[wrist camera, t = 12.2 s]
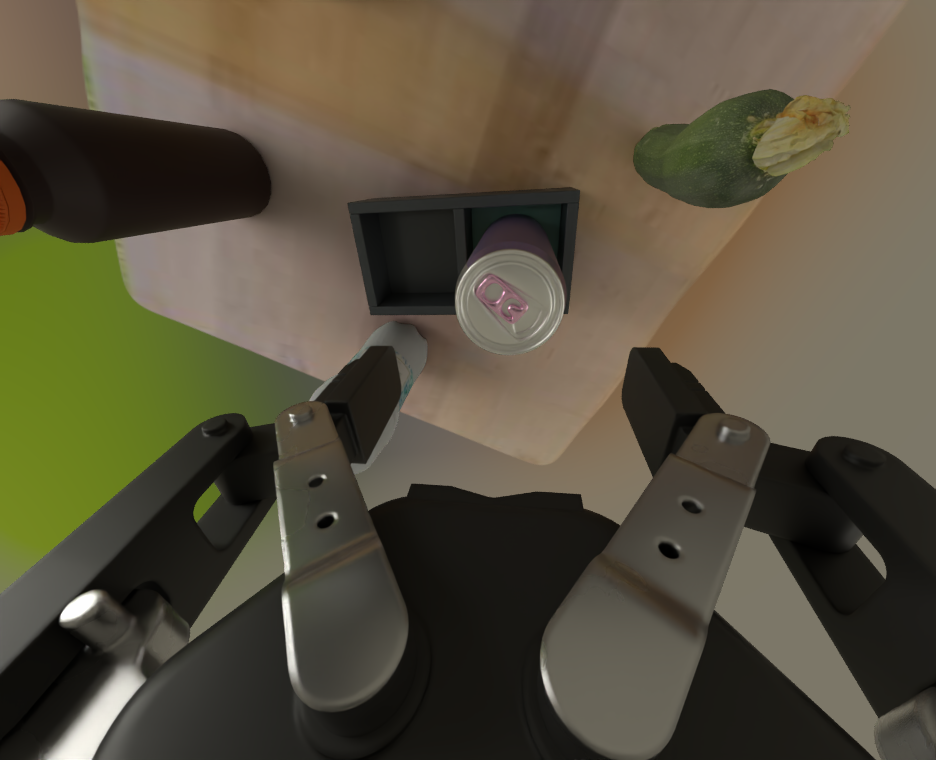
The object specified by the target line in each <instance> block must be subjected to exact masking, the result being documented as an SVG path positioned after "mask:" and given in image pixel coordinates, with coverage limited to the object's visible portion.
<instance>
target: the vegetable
mask: <svg viewBox="0 0 936 760" xmlns="http://www.w3.org/2000/svg"><path fill="white" fill-rule="evenodd" d="M849 109H850V106H849V105H848V106H846V107H845V105H844V103H842V102H839V101H835V100H834V99H832V98H827V99H819V98H816V97H812V96H807V95H804V96H799V97H796V98H795V100H794V99H793V98H791V97H790V96H788V95H787V94H785V93H783V92H780V91H777V90H772V89H769V90H762V91H757V92H753V93H748V94H745V95H741V96H738V97H735V98H732V99H729V100H726V101H724V102H722V103H719V104H718V105H716V106H715V107H713V108H711V109H710V110H708V111H707V112H706V113H704V114H703V115H701V116H700V117H699V118H697V119H696V120H695V121H693V122H692V123H691V124H666V125H662V126H660V127H655V128H652V129H651V130H650V131H649V132H648V133H647V134H646V135H645V136H644V137H643V138H642V139H641V141H640V142H639V143H638V144H637V145H636V146H635V149H634V156H633V162H634V166H635V169H636V171H637V173H639V174H640V176H641V177H642V178H643V179H644V180H645V182H647V183H648V184H649V185H651V186H653V187H655V188H657V189H660V190H661V191H664V192H666V193H668V194H669V195H670V196H672V197H673V198H676V199H678V200H682V201H684V202H686V203H688V204H691V205H694V206H700V207H706V208H726V207H732V206H735V205H739V204H742V203H745V202H749V201H752V200H754V199H757V198H759V197H761V196H763V195H765V194H766V193H767V192H769V191H770V190H771V189H772V188H774V187H775V186H776V185H777V184H778V183H779V182H780V181H781V180H782V179H783V178H784V177H785V176H786V175H787V174H788V173H790V172H792V171H794V170H797V169H799V168H801V167H803V166H805V165H807V164H808V163H809V162H810V161H812V160H815V159H816V158H817V157H818V156H819V155H820V154H821V153H822V152H824V151H830V150H831V148H832V146H833V140H834V139H835V138H836V137H837V136H838V137H842V136H844V135H846V134H848V133H849V130H848V127H849V125H848V123H849V122H848V119H849V117H850V115H848V114H845V113H846V112H847V111H848V110H849Z"/></svg>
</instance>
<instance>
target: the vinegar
mask: <svg viewBox="0 0 936 760" xmlns="http://www.w3.org/2000/svg"><path fill="white" fill-rule="evenodd" d="M270 195H271V181H270V177H269V173H268V169H267V167H266V165H265V163H264V161H263V159H262V157H261V155H260V154H259V153H258V152H257V151H256V149H255V148H254V147H253V146H252V145H251V143H249V142H248V141H247V140H245V139H244V138H243V137H241V136H240V135H238V134H236V133H233V132H231V131H228V130H225V129H219V128H212V127H205V126H198V125H191V124H184V123H177V122H170V121H163V120H156V119H149V118H142V117H135V116H128V115H121V114H115V113H108V112H101V111H94V110H86V109H80V108H73V107H66V106H58V105H52V104H45V103H38V102H31V101H24V100H17V99H6V100H0V236H3V235H11V234H14V233H16V232H24V231H26V230H28V229H30V228H31V227H32V226H33V227H36V228H37V229H39V230H41V231H43V232H45V233H47V234H49V235H51V236H54V237H57V238H60V239H63V240H66V241H69V242H74V243H95V242H100V241H107V240H113V239H119V238H125V237H131V236H137V235H143V234H149V233H156V232H162V231H168V230H174V229H180V228H186V227H192V226H198V225H204V224H210V223H216V222H222V221H228V220H234V219H241V218H247V217H252V216H254V215H256V214H259V213H261V212H262V211H263V209H264V208H265V207H266V206H267V205H268V202H269V199H270Z"/></svg>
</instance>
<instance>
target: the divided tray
mask: <svg viewBox="0 0 936 760" xmlns="http://www.w3.org/2000/svg"><path fill="white" fill-rule="evenodd" d="M579 198H580V190H578V189H575V188H571V187H569V188H551V189H533V190H516V191H498V192H480V193H463V194H445V195H427V196H409V197H392V198H374V199H367V200H361V201H355V202H350V203H348V209H349V213H350V218H351V223H352V228H353V232H354V237H355V242H356V247H357V252H358V256H359V261H360V266H361V271H362V276H363V280H364V285H365V290H366V295H367V300H368V304H369V306H370V307H369V309H370V314H371V315H456V309H455V289H456V284H457V280H458V277H459V275H460V273H461V271H462V269H463V268H464V266H465V264H466V263H467V261H468V259H469V258H470V256H471V254H472V253H473V251H474V249H475V248H476V246H477V244H478V243H479V241H480V240H481V238H482V236H483V235H484V233H485V231H486V230H487V228H488V227H489V226H490V225H491V224H492V223H493V222H494V221H496V220H497V219H499V218H501V217H503V216H506V215H510V214H522V215H526V216H529V217H531V218H533V219H534V220H536V221H537V222H538V223H539V224H540V225H541V226H542V227H543V229H544V230H545V232H546V234H547V237H548V239H549V242H550V244H551V247H552V249H553V252H554V254H555V257H556V259H557V262H558V264H559V267H560V269H561V272H562V274H563V277H564V280H565V284H566V291H567V298H566V305H565V309H564V313H563V314H568V311H569V301H570V290H571V280H572V270H573V260H574V250H575V239H576V229H577V219H578V209H579Z"/></svg>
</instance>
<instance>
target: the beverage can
mask: <svg viewBox="0 0 936 760" xmlns="http://www.w3.org/2000/svg"><path fill="white" fill-rule="evenodd" d="M566 298H567V291H566V284H565V280H564V277H563V274H562V272H561V269H560V267H559V264H558V262H557V259H556V257H555V254H554V252H553V249H552V247H551V244H550V242H549V239H548V237H547V234H546V232H545V230H544V229H543V227H542V226H541V225H540V224H539V223H538V222H537V221H536V220H534V219H533V218H531V217H529V216H526V215H522V214H510V215H506V216H503V217H501V218H499V219H497V220H496V221H494V222H493V223H492V224H491V225H490V226H489V227H488V228H487V230H486V231H485V233H484V235H483V236H482V238H481V240H480V241H479V243H478V244H477V246H476V248H475V249H474V251H473V253H472V254H471V256H470V258H469V259H468V261H467V263H466V264H465V266H464V268H463V269H462V271H461V273H460V275H459V277H458V280H457V284H456V289H455V309H456V315H457V318H458V321H459V324H460V326H461V328H462V330H463V331H464V333H465V334H466V335H467V336H468V338H469V339H470V340H471V341H472V342H474V343H475V344H476V345H477V346H479V347H481V348H482V349H484V350H486V351H489V352H491V353H495V354H499V355H519V354H523V353H527V352H530V351H532V350H534V349H536V348H538V347H540V346H541V345H543V344H544V343H545V342H546V341H547V340H549V339H550V337H551V336H552V335H553V334H554V333H555V331H556V330H557V328H558V326H559V324H560V322H561V320H562V317H563V313H564V309H565V305H566Z"/></svg>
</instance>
